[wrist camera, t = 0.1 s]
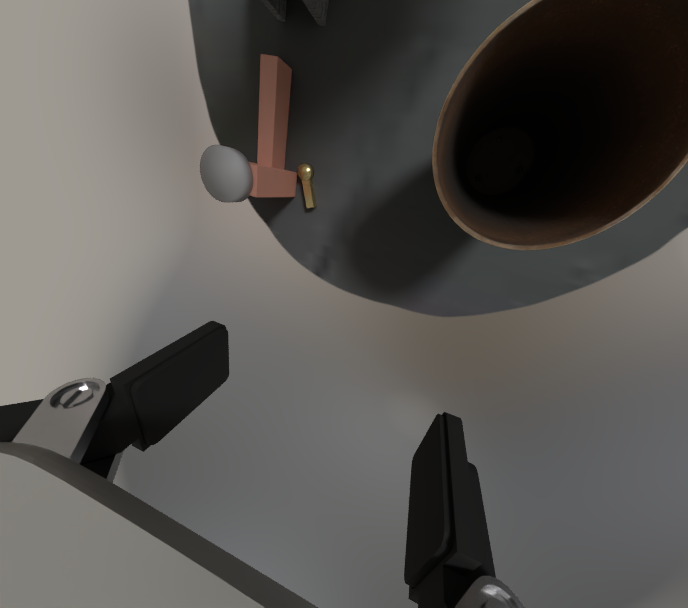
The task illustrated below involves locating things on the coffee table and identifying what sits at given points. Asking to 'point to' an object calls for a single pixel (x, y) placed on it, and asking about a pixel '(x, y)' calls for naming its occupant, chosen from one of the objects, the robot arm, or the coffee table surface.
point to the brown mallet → (268, 173)
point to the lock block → (315, 4)
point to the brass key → (307, 184)
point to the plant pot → (565, 121)
